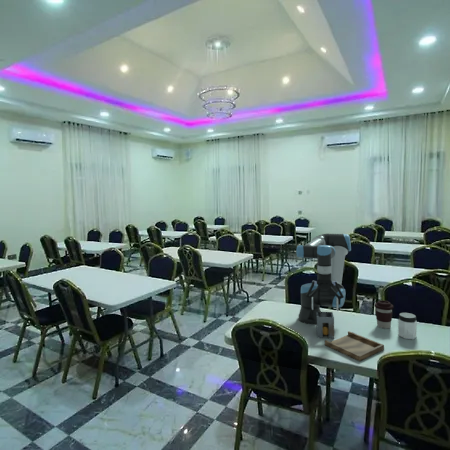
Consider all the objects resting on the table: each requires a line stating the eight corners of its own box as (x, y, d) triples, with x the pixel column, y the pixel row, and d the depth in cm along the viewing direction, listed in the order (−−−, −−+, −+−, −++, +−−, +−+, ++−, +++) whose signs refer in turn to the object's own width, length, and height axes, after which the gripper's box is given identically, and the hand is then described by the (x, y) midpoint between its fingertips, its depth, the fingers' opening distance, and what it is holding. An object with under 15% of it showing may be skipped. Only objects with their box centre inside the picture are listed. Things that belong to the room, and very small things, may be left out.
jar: (399, 338, 176) (400, 317, 175) (396, 332, 184) (397, 312, 182) (418, 340, 173) (418, 318, 172) (414, 333, 181) (414, 313, 180)
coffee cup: (392, 331, 185) (392, 305, 184) (373, 328, 191) (373, 303, 189) (393, 325, 194) (394, 300, 192) (375, 322, 199) (375, 298, 198)
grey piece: (317, 337, 181) (317, 317, 180) (316, 331, 189) (316, 311, 188) (334, 338, 179) (334, 317, 178) (332, 332, 187) (332, 312, 186)
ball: (319, 334, 185) (319, 326, 184) (324, 332, 187) (324, 324, 187) (325, 337, 181) (325, 329, 180) (331, 335, 183) (331, 327, 183)
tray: (324, 345, 172) (324, 340, 171) (349, 335, 182) (349, 331, 182) (359, 361, 154) (359, 356, 154) (384, 349, 164) (384, 344, 164)
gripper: (301, 273, 180) (302, 310, 182) (348, 274, 174) (349, 312, 176) (301, 270, 187) (302, 306, 189) (346, 271, 182) (347, 308, 183)
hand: (324, 309), depth 182 cm, fingers open, 13 cm apart
